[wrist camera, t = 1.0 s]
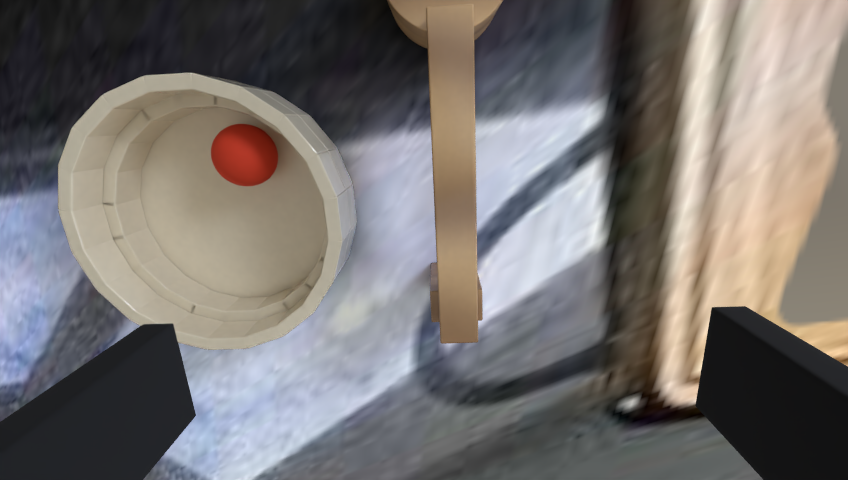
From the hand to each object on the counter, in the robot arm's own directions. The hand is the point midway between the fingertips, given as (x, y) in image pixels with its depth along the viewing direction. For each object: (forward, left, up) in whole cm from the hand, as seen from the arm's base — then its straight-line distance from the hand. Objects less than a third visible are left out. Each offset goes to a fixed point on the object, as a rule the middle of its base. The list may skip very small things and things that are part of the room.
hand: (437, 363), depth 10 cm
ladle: (-5, +1, -17) cm, 18 cm away
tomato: (-4, -11, -15) cm, 19 cm away
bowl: (-1, -13, -17) cm, 22 cm away
